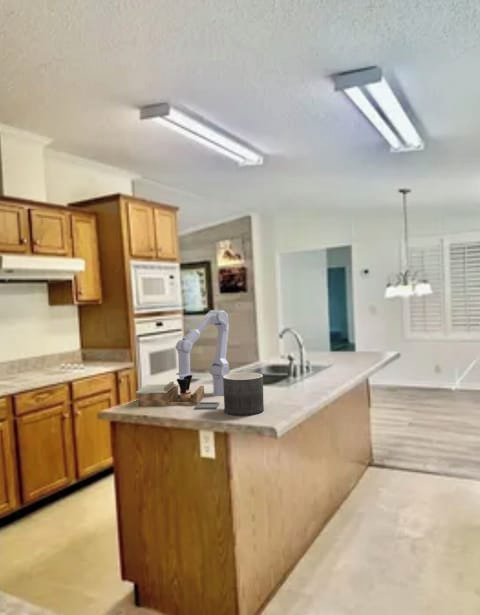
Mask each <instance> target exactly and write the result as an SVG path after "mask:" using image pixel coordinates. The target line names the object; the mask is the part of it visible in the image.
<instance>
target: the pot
mask: <svg viewBox="0 0 480 615" xmlns="http://www.w3.org/2000/svg"><path fill="white" fill-rule="evenodd" d="M179 394H180V398H181V402H190V401H191V394H192V390H190V389H189V390H186V393H181V391H180V390H179Z"/></svg>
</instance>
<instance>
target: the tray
mask: <svg viewBox="0 0 480 615" xmlns="http://www.w3.org/2000/svg"><path fill="white" fill-rule="evenodd" d="M219 406H220V402H219V401H212V402H211V401H207V402H205V401H204V402H202V401H200V402H199V403H198V404H197V405H194V410H217V409H218V407H219Z"/></svg>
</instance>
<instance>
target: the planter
mask: <svg viewBox="0 0 480 615" xmlns="http://www.w3.org/2000/svg"><path fill="white" fill-rule="evenodd" d="M223 386H224V396H223V404H224V406H223V408H224V409H223V411H224V413H225V414H227V415H232V416H241V417H242V416H244V417H245V416H253V415H254V416H255V415H258V414H261V413H263V412H264V410H265V407H264V375H263V374H261V373H257V372H236V373H235V372H234V373H229V374H228V375H225V376H223Z"/></svg>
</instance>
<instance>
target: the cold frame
mask: <svg viewBox="0 0 480 615" xmlns="http://www.w3.org/2000/svg"><path fill="white" fill-rule="evenodd" d="M137 398H138V400H137V402H138V407H141V406H142V407H144V406H146V407H147V406H148V407H150V406H153V407H156V406H157V407H160V406H161V407H165V406H167V407H168V406H169V407H170V406H171V407H172V406H179V407H180V406H182V407H183V406H187V407H188V406H196V405H197V404H198V403H199V402H202V400H204V398H205V386H204V385H200V386H199V387H198V388H197V389H196V390H195V391H194V392H193V394H192V393H191V401H190V402H181V398H180V393H179V385H176V386H175V387H173V388H172V389H171V390H170V391H168V392H167V393H137Z"/></svg>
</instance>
